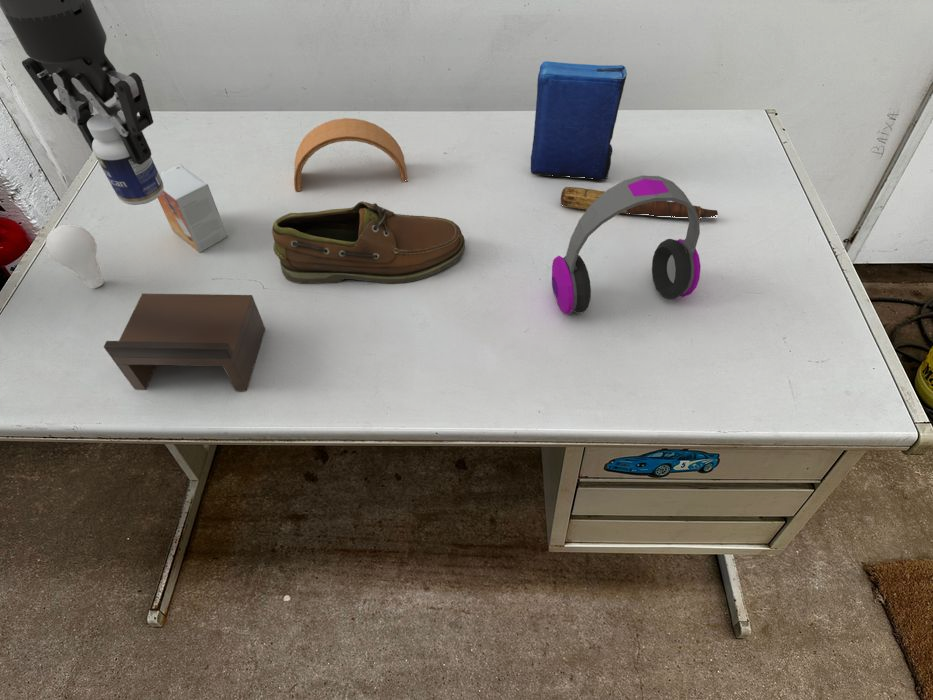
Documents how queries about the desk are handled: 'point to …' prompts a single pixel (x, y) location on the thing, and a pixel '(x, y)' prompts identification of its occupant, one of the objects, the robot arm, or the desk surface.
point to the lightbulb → (75, 252)
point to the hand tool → (657, 208)
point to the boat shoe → (364, 245)
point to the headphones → (671, 258)
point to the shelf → (190, 336)
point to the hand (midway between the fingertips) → (122, 154)
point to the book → (576, 119)
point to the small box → (190, 208)
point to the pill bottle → (123, 164)
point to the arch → (346, 132)
